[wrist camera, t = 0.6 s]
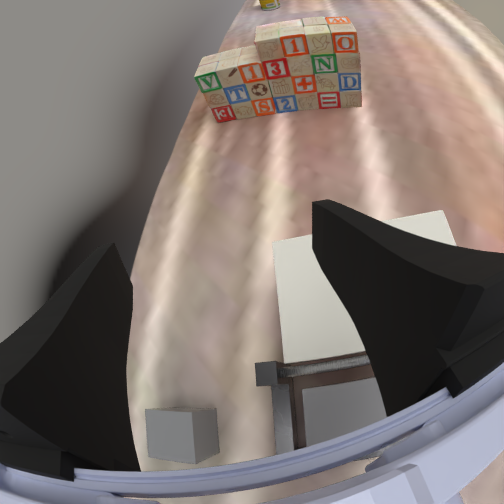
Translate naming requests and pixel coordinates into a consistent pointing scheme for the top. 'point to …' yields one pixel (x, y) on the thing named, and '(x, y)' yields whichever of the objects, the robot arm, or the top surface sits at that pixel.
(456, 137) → the top surface
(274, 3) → the supplement bottle
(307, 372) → the frame
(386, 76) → the top surface
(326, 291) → the trapdoor
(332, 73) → the stack of blocks
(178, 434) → the stone block
